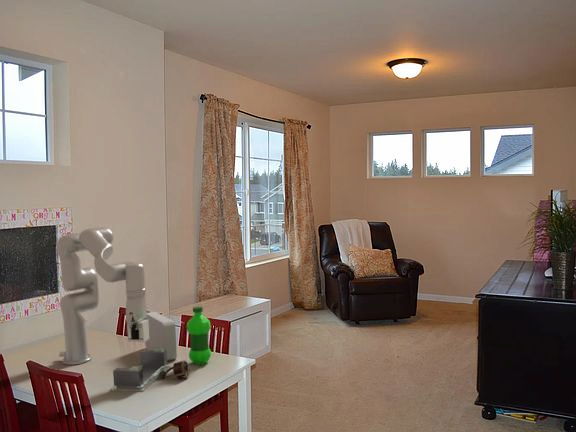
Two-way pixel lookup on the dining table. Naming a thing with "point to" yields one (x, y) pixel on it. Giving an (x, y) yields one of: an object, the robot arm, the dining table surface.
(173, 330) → the rounded white slab
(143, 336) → the block
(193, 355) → the plastic bottle
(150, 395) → the dining table surface
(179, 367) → the brown antique clock
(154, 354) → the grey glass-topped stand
